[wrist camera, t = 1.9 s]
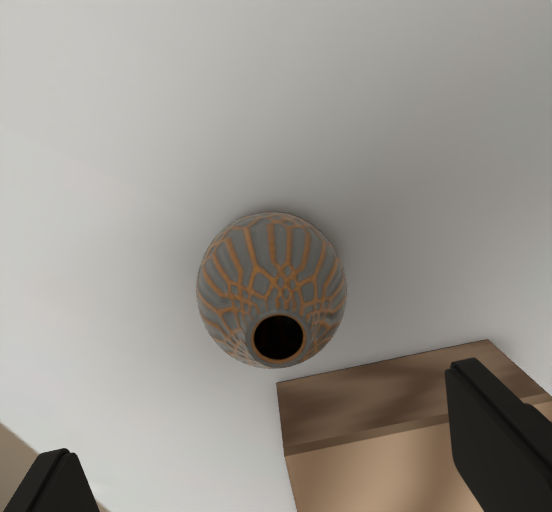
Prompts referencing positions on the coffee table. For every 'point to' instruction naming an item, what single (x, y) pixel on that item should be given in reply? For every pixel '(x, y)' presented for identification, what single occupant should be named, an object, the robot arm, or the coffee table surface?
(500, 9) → the coffee table surface
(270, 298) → the vase
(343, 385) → the walnut box
